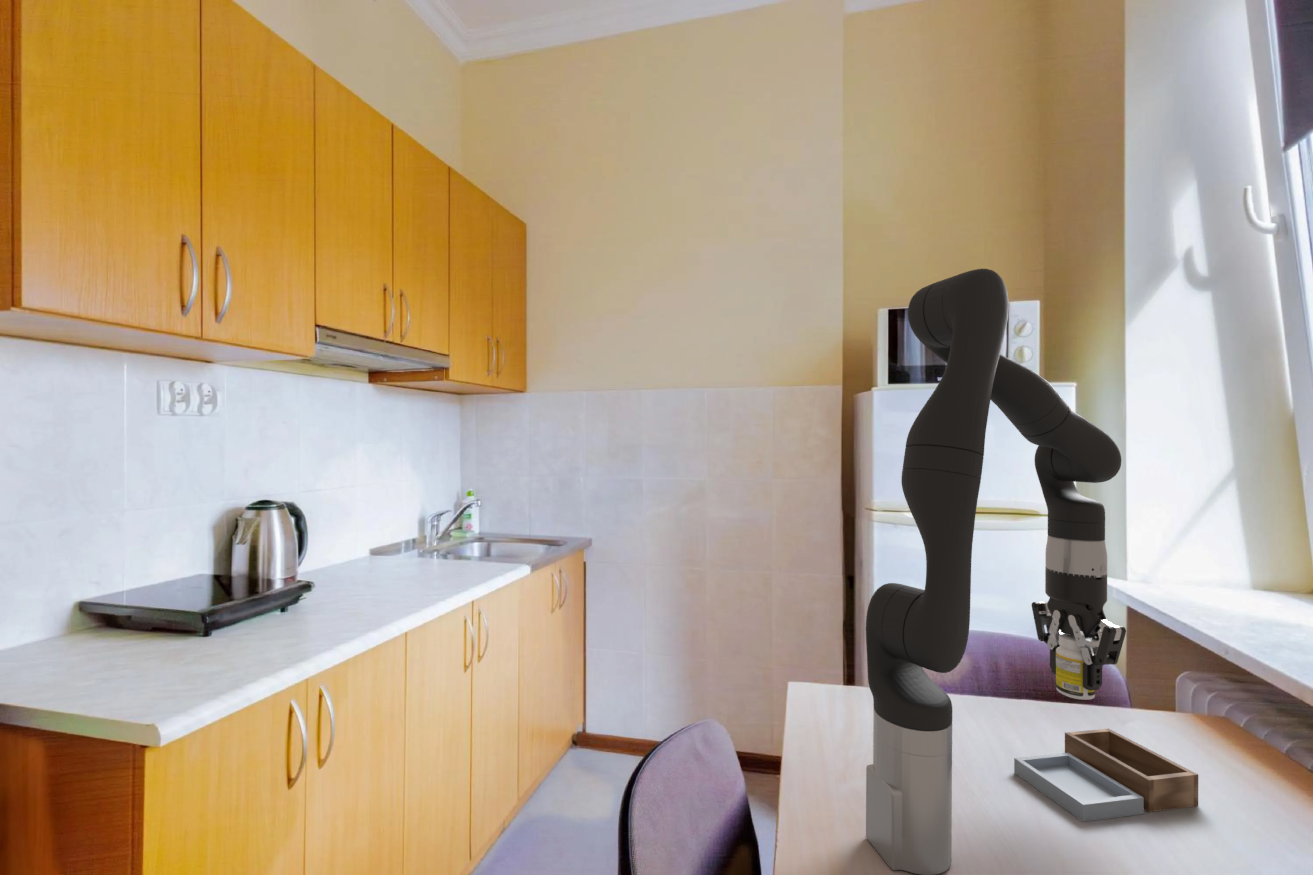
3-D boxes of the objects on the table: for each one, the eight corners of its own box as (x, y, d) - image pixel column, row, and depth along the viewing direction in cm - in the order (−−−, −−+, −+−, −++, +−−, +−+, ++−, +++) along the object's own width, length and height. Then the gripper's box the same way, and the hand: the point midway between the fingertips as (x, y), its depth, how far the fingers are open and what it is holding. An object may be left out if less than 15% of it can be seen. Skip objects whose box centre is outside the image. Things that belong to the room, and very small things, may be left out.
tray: (1083, 821, 79) (1083, 804, 79) (1014, 772, 91) (1014, 757, 91) (1143, 813, 81) (1143, 797, 81) (1068, 766, 93) (1068, 752, 93)
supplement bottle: (1082, 687, 88) (1082, 632, 89) (1102, 701, 84) (1102, 643, 84) (1048, 686, 89) (1049, 631, 89) (1067, 699, 84) (1067, 641, 84)
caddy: (1149, 811, 82) (1149, 780, 82) (1064, 759, 95) (1064, 732, 95) (1198, 805, 83) (1198, 774, 83) (1108, 755, 97) (1108, 728, 97)
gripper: (1015, 558, 93) (1015, 664, 93) (1099, 579, 79) (1098, 704, 79) (1055, 557, 94) (1055, 662, 94) (1144, 578, 80) (1144, 701, 80)
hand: (1075, 681), depth 86 cm, fingers closed on supplement bottle, 4 cm apart
